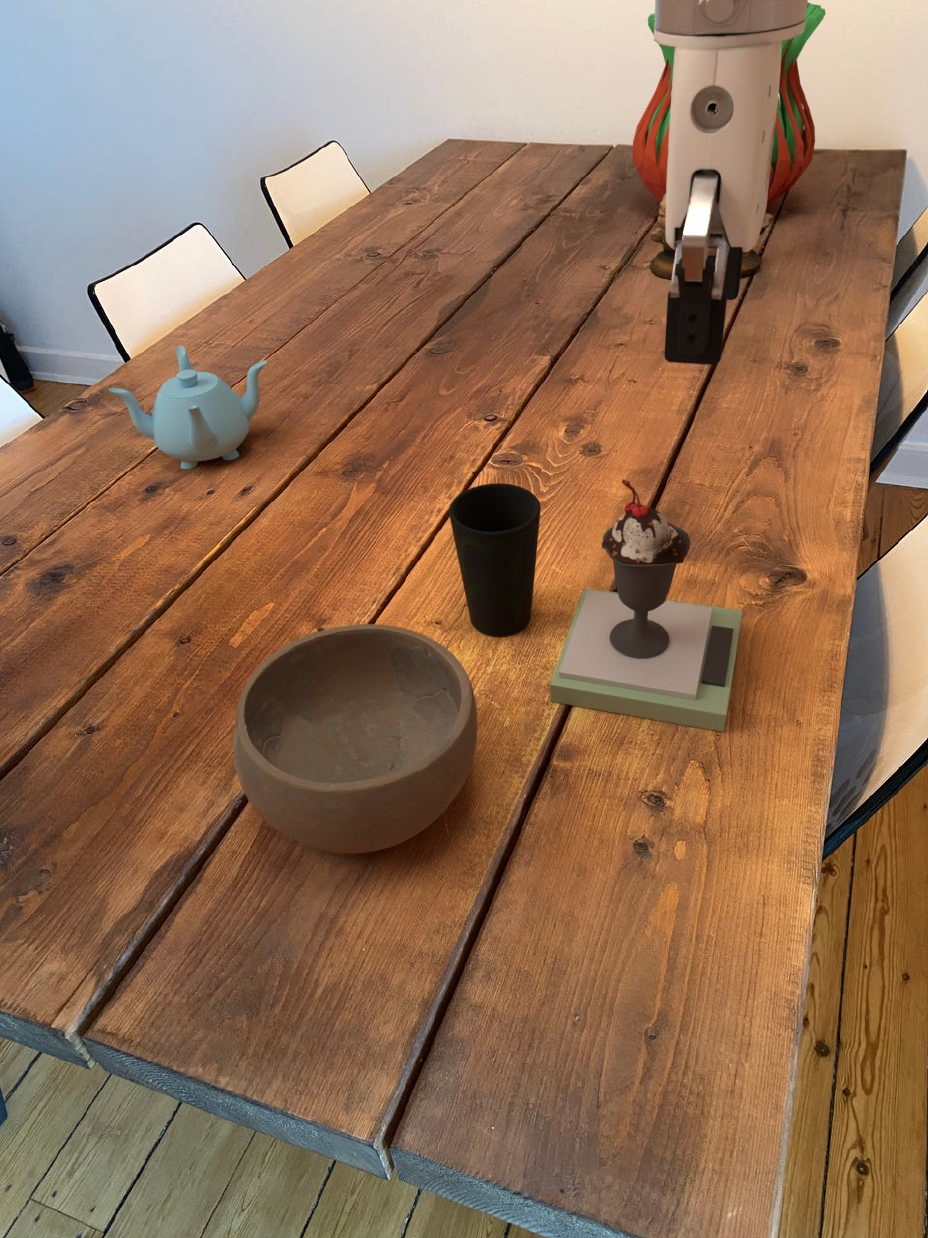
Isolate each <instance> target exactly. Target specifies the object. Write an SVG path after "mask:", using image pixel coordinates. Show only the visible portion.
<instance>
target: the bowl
mask: <svg viewBox="0 0 928 1238" xmlns="http://www.w3.org/2000/svg"><path fill="white" fill-rule="evenodd" d="M472 685H473V684H472V682H471V679H470V677H469V675H468V673H467V671H466V670H465V668H464V666H463V665H462V663H461V662H460V661H459V659H458V658H457V657H456V656H455V655H454V653H452V652H451V651H450V650H449V649H448V648H446V647H445V646H444V645H442V644H441V643H439V642H438V641H436V640H434V639H433V638H431V637H429V636H427V635H425V634H423V633H421V632H417V631H415V630H411V629H407V628H403V627H399V626H394V625H386V624H374V623H363V624H359V623H358V624H352V625H351V624H350V625H342V626H337V627H332V628H328V629H324V630H320V631H316V632H313V633H309V634H307V635H305V636H303V637H300V638H298V639H296V640H292V641H291V642H289V643H287V644H285V645H284V646H282V647H280V648H279V649H277V650H276V651H274V653H272V654H271V655H270V656H268V657H267V658H265V660H264V661H263V662H262V663H261V664H260V665H259V666H258V667H257V668H256V670H255V671H254V672H253V673H252V674H251V676H250V678H249V679H248V680H247V682H246V684H245V686H244V688H243V690H242V692H241V695H240V697H239V701H238V705H237V708H236V715H235V721H234V729H233V736H232V737H233V738H232V739H233V740H232V741H233V742H232V745H233V746H232V749H233V765H234V769H235V773H236V775H237V778H238V781H239V783H240V787H241V789H242V791H243V792H244V794H245V797H246V798H247V800H248V802H249V804H250V805H251V806H252V808H253V809H254V811H255V812H256V813H257V814H258V816H260V817H261V818H262V820H264V821H265V822H266V823H267V824H268V825H269V826H271V827H272V828H273V829H275V830H276V831H278V832H279V833H281V834H282V835H284V836H286V837H287V838H289V839H291V840H293V841H294V842H297V843H300V844H302V845H305V846H307V847H310V848H312V849H315V850H318V851H323V852H327V853H335V854H344V855H345V854H346V855H347V854H351V855H353V854H355V855H356V854H366V853H373V852H378V851H381V850H385V849H388V848H392V847H395V846H398V845H400V844H402V843H404V842H406V841H408V840H410V839H411V838H413V837H416V835H418V834H420V833H421V832H423V831H424V830H425V829H426V828H428V827H429V826H431V825H432V824H433V823H434V822H435V821H436V820H437V819H438V818H439V817H440V816H441V815H442V814H443V812H444V811H445V810H446V809H447V808H448V807H449V806H450V804H452V802H453V801H454V799H456V797H457V796H458V795H459V793H460V791H461V790H462V788H463V787H464V785H465V783H466V781H467V779H468V777H469V774H470V771H471V769H472V767H473V765H474V758H475V752H476V746H477V740H478V708H477V707H478V706H477V701H476V697H475V692H474V688H473V686H472Z"/></svg>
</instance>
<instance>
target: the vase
mask: <svg viewBox="0 0 928 1238" xmlns="http://www.w3.org/2000/svg"><path fill="white" fill-rule="evenodd" d="M825 16H826V9H825V8H822V6H821V4H815V3H812V2H809V1H808V2H807V10H806V18H805V19H806V20H805V28H804V32H803V33H802V34H801V35H800V36H796V37H794V38H792V39H789V40H785V41H782V48H781V69H780V82H779V94H778V104H777V113H776V123H775V131H774V140H773V149H772V158H771V166H770V176H769V186H768V197H767V206H766V209H767V208H768V207H770V206H771V205H772V204H773V203H774V202H775V201H777V200H778V199H779V198H780V197H782V196H783V195H784V194H785V193H786V192H788V191H789V190H790V189H791V188H792V187H794V185H795V184H796V183H797V181H798V180H799V179H800V178H801V176H802V175H803V174H804V172H805V171H806V169H808V167H809V165H810V164H811V163H812V161H813V156H814V151H815V145H816V127H815V123H814V120H813V117H812V113H811V109H810V106H809V103H808V101H807V98H806V94H805V92H804V89H803V87H802V83H801V78H800V72H799V66H798V58H799V56H800V55H801V53H802V50H803V48H804V47H805V45H806V43H807V41H808V40H809V39H810V38H811V36H812V35H813V33H814V32H815V31H816V29H817V28H818V26H819V25H820V24H821V23H822V21H823V20H824V17H825ZM654 22H655V13H650V15H649V16H648V17H647V26H648V28H649V30H650V31H651V34H652V35H653V36H654ZM657 44H658V46H659V47H660V50H661V52H662V56H663V60H664V63H665V65H664V68H663V70H662V73H661V77H660V78H659V80H658V81H659V82H658V83H657V86H656V89H655V91H654V92H653V95H652V97H651V99H650V100H649V102H648V104H647V106H646V108H645V109H644V112H643V114H642V116H641V118H640V120H639V121H638V123H637V125H636V128H635V132H634V137H633V139H632V140H633V141H632V163H633V164H634V165H635V169H636V171H637V173H638V175H639V178H640V179H641V182H642V183H643V185H644V187H645V188H646V189H647V190H648V192H649V193H651V195H653V197H654V198H655V199H656V200H657V201H658V202H659V203H660V204H661V201H662V200H663V197H664V195H665V194H666V184H667V162H668V143H669V126H670V110H671V91H672V80H673V66H674V52H675V47H671V46H666V45H661V44H659V43H657Z"/></svg>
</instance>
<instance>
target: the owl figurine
mask: <svg viewBox="0 0 928 1238" xmlns="http://www.w3.org/2000/svg"><path fill="white" fill-rule="evenodd" d="M659 205H660V206H659V210H658V215H659V216H658V217H657V224H658V226H659V227H660V228H659V227H657V228H656V229H655V230H653V231H651V233H650V240H651V241H653V242H655V243H656V244H658V243H660V244H662V249H663V250H662V251H659V252H658V253H657V254H656V256H655V257H653V258H652V259H651V261H650V264H649V269H650V272H652V274H654V275H655V276H657V277H659V278H661V279H662V278H663V279H666V280H672V273H673V266H674V259H675V252H676V250H674V249H672V248H671V247H670V246H669V245H668V243H667V242H666V229H665V221H666V194H665V195H664V197H663V200H662V201H661V203H660V204H659ZM773 218H774V215H772V214H770V213H765V215H764V219H763V223H762V227H761V231H760V234H759V237H760V236H762V235H764V233H765V232H766V230H767V228H769V226H770V223H771V222H772V220H773ZM762 261H763V260H762V257H761V256H760V254H759V253H757V252H756V250H755V249H753V248H752V249H751V250H750V251H748V252H743V258H742V267H741V277H740V278H743V277H746V276H749V275H752V274H754V273H756V272H757V271H758V270H759V269H760V268H761V266H762Z"/></svg>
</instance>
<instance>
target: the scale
mask: <svg viewBox="0 0 928 1238" xmlns="http://www.w3.org/2000/svg"><path fill="white" fill-rule="evenodd" d="M742 618H743V610H742V609H736V608H729V607H723V606H716V605H707V604H700V603H694V602H686V601H679V600H672V599H666V601H665V602H664V603H663V604H662V605H661V606H659V607H658V608H656V609H654V610H652V611H648V620H651V621H654V622H656V623H658V624H660V625H661V626H662V627H663V628H664V629H665V630H666V631H667V633H668V635H669V644H668V646H667V648H666V649H665V650H664V651H663V652H662V653H660V654H659V655H656V656H653V657H650V658H633V657H629V656H625V655H624V654H622V653H620V652H618V651H617V650H616V649H615V648H614V647H613V646H612V644H611V643H610V633H611V631H612V629H613V628H614V627H615V626H616V625H617V624H619V623H620V622H622V621H625V620H629V619H634V610H632V609H630V608H628V607H627V606H626V605H624V604H623V603H622V602H621V600H620V599H619V596H618V592H616V591H610V590H601V589H595V588H587V587H584V588H583V590H582V594H581V595H580V599H579V601H578V605H577V608H576V610H575V613H574V616H573V619H572V620H571V621H572V622H571V625H570V627H569V630H568V633H567V636H566V639H565V641H564V644H563V647H562V650H561V652H560V655H559V658H558V661H557V664H556V667H555V670H554V672H553V675H552V677H551V681H550V684H549V701H550V702H551V703H557V704H562V705H568V706H574V707H579V708H585V709H590V710H596V711H602V712H607V713H614V714H619V715H624V716H630V717H635V718H641V719H647V720H653V721H657V722H658V721H659V722H663V723H669V724H676V725H680V726H687V727H693V728H699V729H704V730H709V731H713V732H714V731H716V732H720V733H724V732H725V728H726V724H727V723H726V722H727V715H728V710H729V703H730V696H731V690H732V683H733V677H734V670H735V664H736V657H737V652H738V645H739V644H738V643H739V637H740V631H741V625H742Z"/></svg>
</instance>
